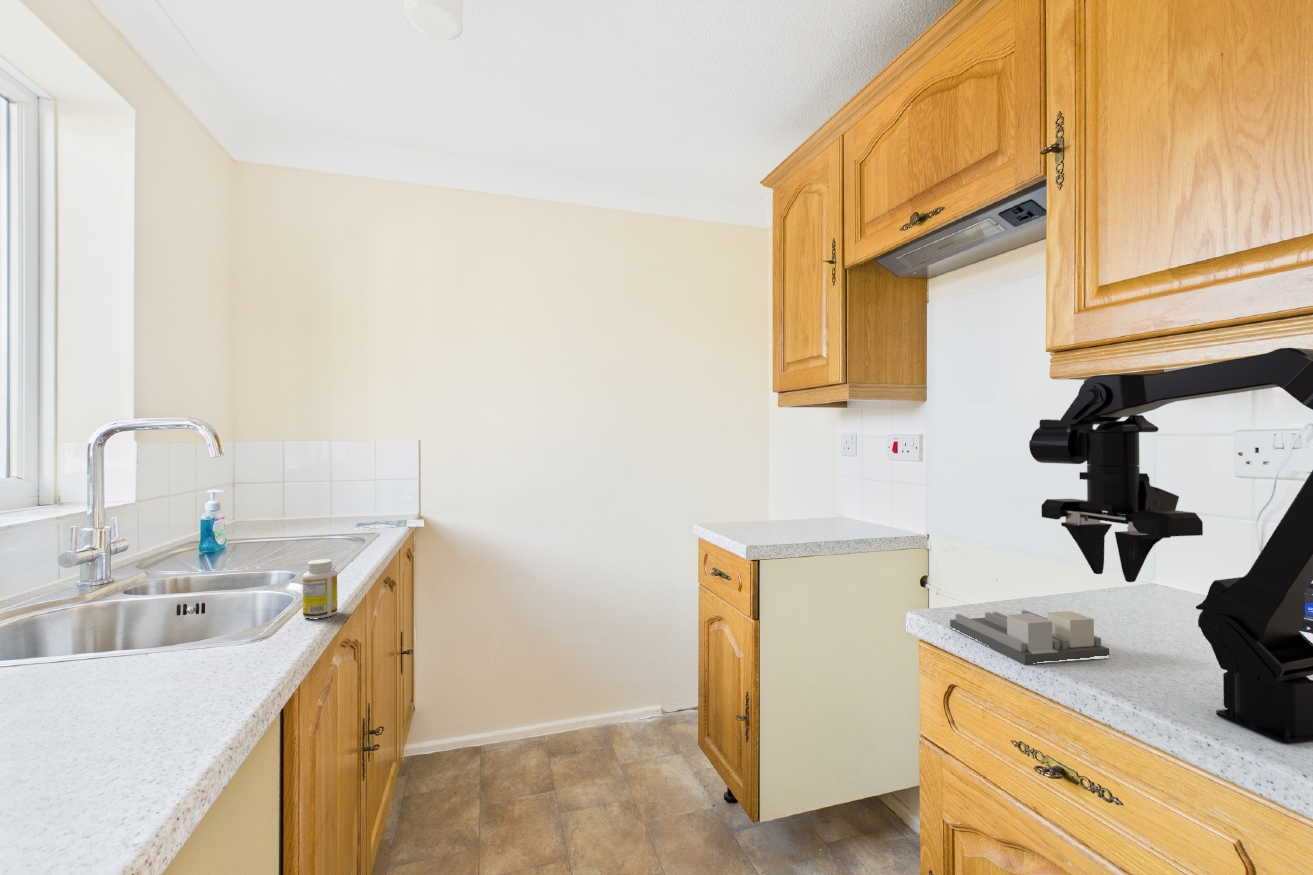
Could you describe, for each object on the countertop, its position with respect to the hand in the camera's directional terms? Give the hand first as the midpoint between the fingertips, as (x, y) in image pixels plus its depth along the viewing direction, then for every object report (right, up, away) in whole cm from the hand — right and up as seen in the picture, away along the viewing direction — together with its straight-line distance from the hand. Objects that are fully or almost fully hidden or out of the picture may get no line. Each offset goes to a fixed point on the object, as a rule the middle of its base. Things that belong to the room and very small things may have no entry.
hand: (1113, 577), depth 79 cm
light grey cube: (-8, -12, +6) cm, 15 cm away
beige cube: (-1, -11, +7) cm, 13 cm away
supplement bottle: (-127, -14, +27) cm, 130 cm away
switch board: (-5, -13, +11) cm, 18 cm away
